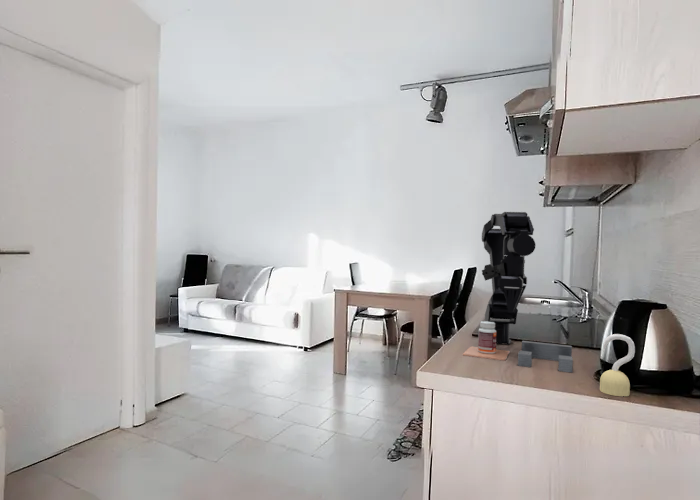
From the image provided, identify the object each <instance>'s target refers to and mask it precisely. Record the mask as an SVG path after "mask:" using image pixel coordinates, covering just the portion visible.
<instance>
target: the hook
mask: <svg viewBox="0 0 700 500" xmlns="http://www.w3.org/2000/svg"><path fill="white" fill-rule="evenodd" d="M614 340H621V341H624V342H626V344H627V345H628V346H627V347H628V352H627V355H625V356H624V357H622V358H619V359H618V360H616V361H615V362H614V363H613V365H612V367H611V369H609V370H606V371H604V372H603V373H602V374H601V376H600V379H599V391H600V392H601V393H603V394H605V395H610V396H615V397H623V396H624V397H629V396H630V391H631V390H630V389H631V384H630V380H629V377H628V376H627V375H626V374H625V373H624V372H622V371H621V370H619V369H620V367H621V366H622V365H624V364H627V363H628V362H630V361H631V360H632V359H634V357H635V353H636V346H635V343H634V341H633V339H632V338H631V337H629V336H627V335H625V334H620V333H614V334H610V335H608V336H607V337H606V338H605V339H604V341H603V349H602V350H603V352H602V353H605V349H606V348H607V346H608V345H609V343H610V342H612V341H614Z"/></svg>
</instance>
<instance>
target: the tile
mask: <svg viewBox="0 0 700 500" xmlns="http://www.w3.org/2000/svg"><path fill="white" fill-rule="evenodd" d="M510 353H511V351H510V350H505V349H504V350H503V349H497V348H496V353H494V354H486V353H481V352H479V351H478V346H472V345H471V346H469V347H468V348H467V349H466V350H465V351H464V352H463V353H462V356H466V357H472V358H473V357H475V358H480V359H490V360H496V361H503V362H504V361H507V359H508V357H509V355H510Z"/></svg>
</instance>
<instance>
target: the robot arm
mask: <svg viewBox="0 0 700 500" xmlns="http://www.w3.org/2000/svg"><path fill="white" fill-rule="evenodd" d="M494 227H499V228H494ZM534 231H535V228H534V225H533V223H532V220H531V218H530V216H529V215H528V213H527V212H526V211H504V212H502V213H494V214H491V216H490V219H489V220H488V221H487V222H486V223H485V224H484V225H483V228H482V232H481V241H482V243H483V249H484V250H485V251H486V252H487V253H488V254H489V264H486V265H484V268H483V269H482V270H481V274H482V276H483V280H484V281H488V280H491V286H492V295H491V296H490V298H489V301H488V304H487V306H486V309H485V314H484V321H488V322H494V323H495V328H494V329H495V330H496V344H499V345H500V344H501V345H510V344H511V343H512V339H510V325H516V324H517V316H518V313H519V310H518V306H519V303H520V301H521V299H522V297H523V294H524V292H525V290H526V288H527V284H528V277H527V276H526V275H525V263H526V259H525V257H528V256H529V255H531V254H533V253H534V252H535V249H536V242H535V239H534V238H533V237H532V236H533V235H534Z"/></svg>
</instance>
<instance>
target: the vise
mask: <svg viewBox="0 0 700 500" xmlns="http://www.w3.org/2000/svg"><path fill="white" fill-rule="evenodd" d="M572 350H573V346H572V345H565V344H557V343H548V342H539V341H537V342H536V341H530V340H529V341H528V340H522V341H521V350H519V351H518V353H517V366H519V367H526V368H531V367H532V364H533V362H532V361H533V359H538V360H539V359H540V360H548V361H555V362H556V361H557V362H558V371H559V372H564V373H573V362H574V361H573V353H572V352H573V351H572Z"/></svg>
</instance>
